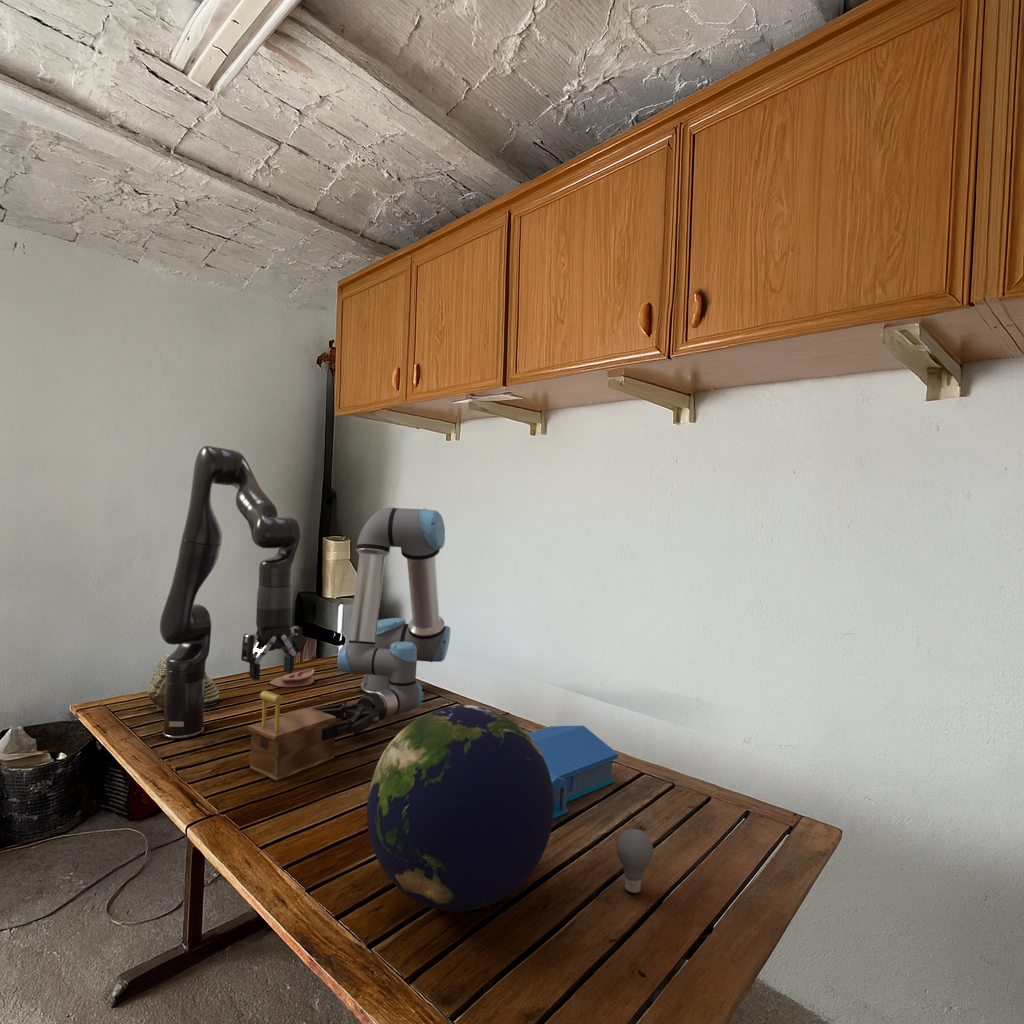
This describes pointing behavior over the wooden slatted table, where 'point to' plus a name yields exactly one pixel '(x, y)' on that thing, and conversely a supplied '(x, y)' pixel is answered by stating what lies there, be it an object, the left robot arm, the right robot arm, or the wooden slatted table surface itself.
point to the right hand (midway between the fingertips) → (308, 729)
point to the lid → (287, 719)
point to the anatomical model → (294, 679)
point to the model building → (574, 762)
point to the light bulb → (634, 857)
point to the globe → (460, 808)
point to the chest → (290, 752)
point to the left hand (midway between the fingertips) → (272, 675)
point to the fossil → (158, 687)
